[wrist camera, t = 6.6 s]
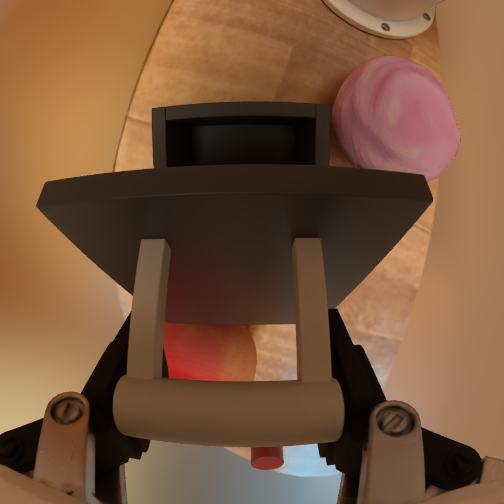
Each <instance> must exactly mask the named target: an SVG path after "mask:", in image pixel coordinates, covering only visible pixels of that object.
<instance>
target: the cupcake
mask: <svg viewBox="0 0 504 504" xmlns="http://www.w3.org/2000/svg"><path fill="white" fill-rule="evenodd" d="M331 127H332V130H333V132H334V135H335V138H336V140H337V143H338V145H339V147H340V148H341V150H342V152H343V153H344V155H345V156H346V157H347V159H348V160H349V161H350V162H351V164H352V165H353V166H354V167H355V168H365V169H377V170H388V171H398V172H407V173H416V174H423V175H424V176H425V178H426V181H427V183H428V182H430V181H432V180H434V179H436V178H437V177H439V176H440V175H441V174H442V172H443V171H444V170H445V169H446V168H447V166H448V165H449V164H450V163H451V161H452V160H453V158H454V157H455V156H456V154H457V152H458V149H459V146H460V141H461V139H460V131H459V127H458V123H457V119H456V116H455V113H454V109H453V106H452V103H451V101H450V99H449V97H448V95H447V92H446V91H445V89H444V87H443V86H442V84H441V83H440V82H439V81H438V79H437V78H436V77H435V76H434V75H433V74H432V73H431V72H430V71H429V70H428V69H426V68H425V67H423V66H421V65H419V64H417V63H415V62H412V61H410V60H408V59H405V58H402V57H398V56H392V55H390V56H379V57H376V58H373V59H371V60H369V61H367V62H365V63H364V64H362V65H360V66H359V67H357V68H356V69H355V70H354V71H352V72H351V73H350V75H349V76H348V77H347V79H346V80H345V81H344V83H343V84H342V86H341V88H340V89H339V92H338V94H337V97H336V100H335V103H334V105H333V109H332V122H331Z"/></svg>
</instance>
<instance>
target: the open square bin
mask: <svg viewBox="0 0 504 504" xmlns="http://www.w3.org/2000/svg"><path fill="white" fill-rule="evenodd" d="M152 141H153V165H154V168H167V167H184V166H204V165H242V164H278V165H315V166H329V152H330V105H324V104H310V103H292V102H220V103H201V104H188V105H177V106H167V107H159V108H152Z"/></svg>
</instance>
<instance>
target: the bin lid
mask: <svg viewBox="0 0 504 504" xmlns="http://www.w3.org/2000/svg"><path fill="white" fill-rule="evenodd" d="M432 202H433V197H432V194H431V191H430V189H429V186H428V183H427V181H426V178H425V176H424V175H423V174H416V173H407V172H398V171H388V170H377V169H365V168H352V167H336V166H315V165H278V164H242V165H204V166H184V167H167V168H154V169H142V170H131V171H121V172H112V173H103V174H95V175H87V176H80V177H73V178H66V179H60V180H54V181H48V182H46V183H45V184H44V187H43V189H42V192H41V194H40V197H39V199H38V202H37V205H36V206H37V208H38V209H39V210H40V211H41V212H42V213H43V214H44V215H45V216H46V217H47V218H48V219H49V220H50V221H51V222H52V223H53V224H54V225H55V226H56V227H57V228H58V229H59V230H60V231H61V232H62V233H63V234H64V235H65V236H66V237H67V238H68V239H69V240H70V241H71V242H72V243H73V244H74V245H76V247H77V248H78V249H80V250H81V251H82V252H83V253H84V254H85V255H86V256H87V257H88V258H89V259H90V260H92V261H93V262H94V263H95V264H96V265H97V266H98V267H99V268H101V269H102V270H103V271H104V272H105V273H106V274H107V275H109V276H110V277H111V278H112V279H113V280H114V281H116V282H117V283H118V284H119V285H120V286H122V287H123V288H124V289H125V290H126V291H128V292H129V293H130V294H131V295H132V296H133V302H132V311H131V321H130V332H129V345H128V361H127V374H126V375H124V376H122V377H121V378H120V380H119V381H118V383H117V385H116V388H115V392H114V397H113V416H114V421H115V424H116V427H117V428H118V430H119V431H120V432H121V433H122V434H124V435H127V436H132V437H137V438H143V439H150V440H156V441H164V442H172V443H181V444H191V445H203V446H221V447H277V446H295V445H307V444H318V443H326V442H334V441H336V440H338V439H339V438H340V436H341V434H342V431H343V426H344V416H345V411H344V399H343V394H342V390H341V387H340V385H339V383H338V381H337V380H336V379H335V378H332V372H331V350H330V333H329V319H328V309H334V308H335V307H337V306H338V305H339V304H340V303H341V302H342V301H343V300H344V299H345V298H346V297H347V296H348V295H349V294H350V293H351V292H352V291H353V290H354V289H355V288H356V287H357V286H358V285H359V284H360V283H361V282H362V281H363V280H364V279H365V277H366V276H367V275H368V274H369V273H370V272H371V271H372V270H373V269H374V268H375V267H376V266H377V265H378V264H379V263H380V262H381V261H382V259H383V258H384V257H385V256H386V255H387V254H388V253H389V252H390V251H391V250H392V249H393V247H394V246H395V245H396V244H397V243H398V242H399V241H400V240H401V238H402V237H403V236H404V235H405V234H406V233H407V232H408V230H409V229H410V228H411V227H412V226H413V225H414V223H415V222H416V221H417V220H418V219H419V218H420V216H421V215H422V214H423V213H424V212H425V210H426V209H427V208H428V207H429V205H430V204H431V203H432ZM165 321H166V322H167V323H180V324H217V325H267V324H296V344H297V377H298V380H287V381H206V380H187V379H173V378H162V359H163V338H164V322H165Z"/></svg>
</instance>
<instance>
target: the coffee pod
mask: <svg viewBox="0 0 504 504" xmlns="http://www.w3.org/2000/svg"><path fill="white" fill-rule="evenodd" d="M283 463H284V458H283V447H282V446H277V447H251V465H252V466H253V467H254V468H257V469H262V470H270V469H275V468H278V467H280V466H282V465H283Z"/></svg>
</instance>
